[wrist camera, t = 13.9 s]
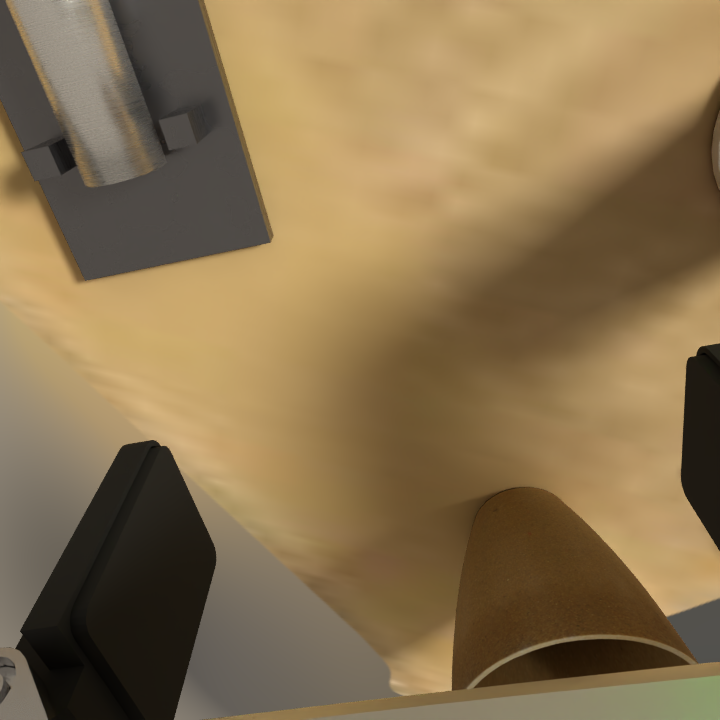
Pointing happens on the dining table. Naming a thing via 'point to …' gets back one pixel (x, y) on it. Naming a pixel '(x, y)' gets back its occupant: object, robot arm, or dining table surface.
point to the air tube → (90, 87)
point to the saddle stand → (177, 138)
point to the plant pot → (551, 600)
